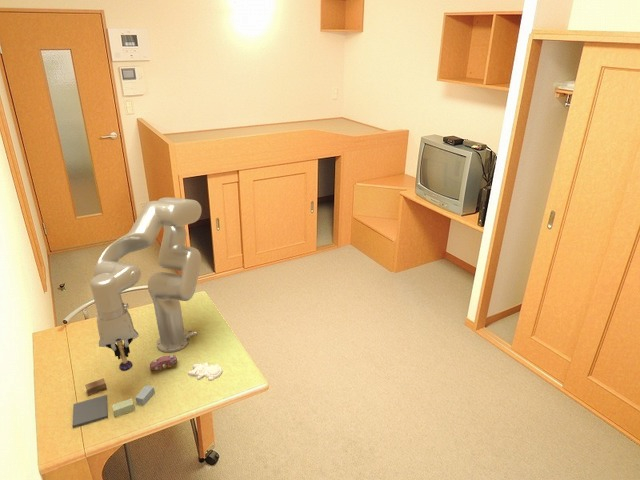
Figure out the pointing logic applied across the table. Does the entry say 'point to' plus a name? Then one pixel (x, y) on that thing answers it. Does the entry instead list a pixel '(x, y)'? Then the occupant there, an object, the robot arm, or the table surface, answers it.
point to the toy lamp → (123, 357)
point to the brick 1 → (96, 387)
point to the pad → (90, 411)
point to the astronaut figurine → (206, 371)
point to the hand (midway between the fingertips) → (123, 355)
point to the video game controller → (163, 362)
